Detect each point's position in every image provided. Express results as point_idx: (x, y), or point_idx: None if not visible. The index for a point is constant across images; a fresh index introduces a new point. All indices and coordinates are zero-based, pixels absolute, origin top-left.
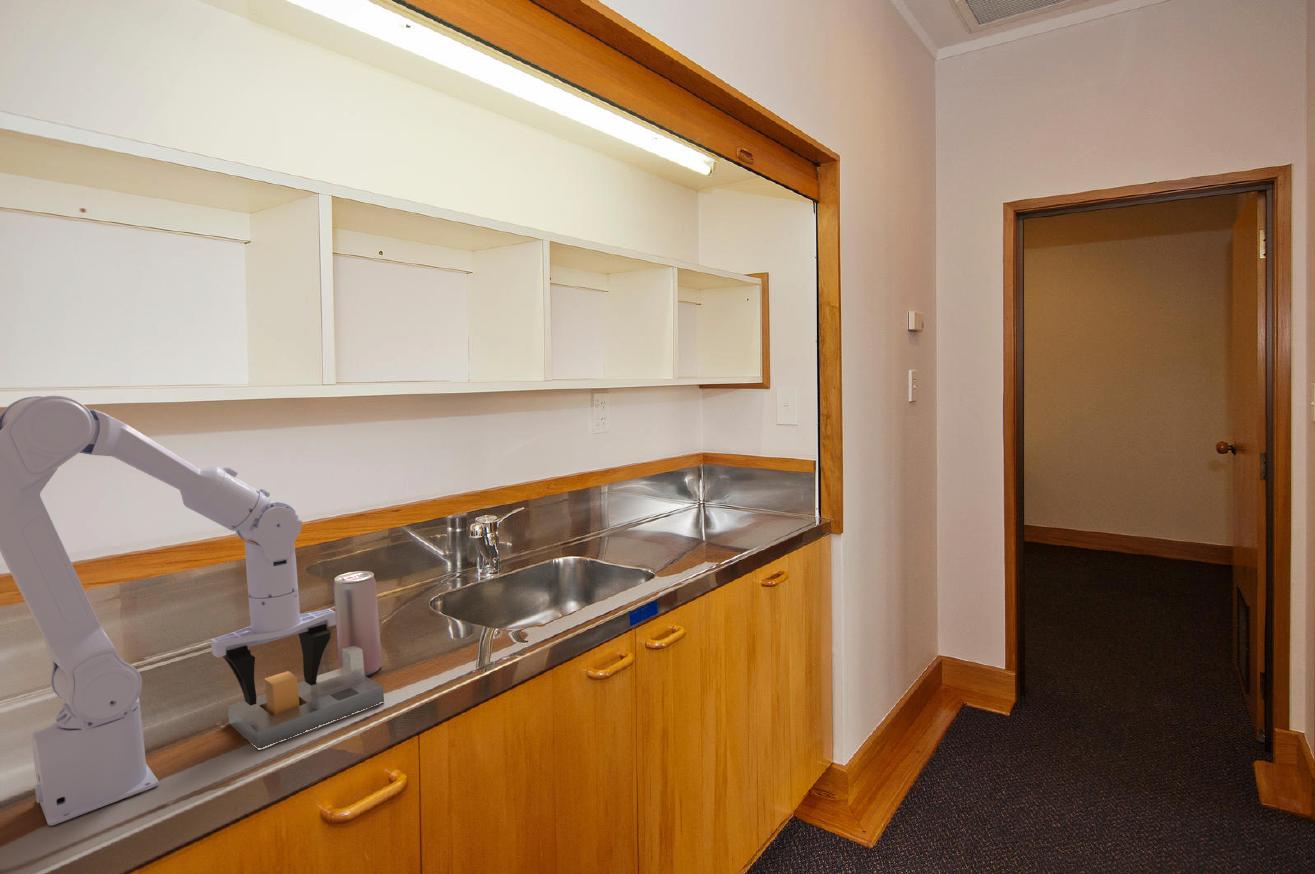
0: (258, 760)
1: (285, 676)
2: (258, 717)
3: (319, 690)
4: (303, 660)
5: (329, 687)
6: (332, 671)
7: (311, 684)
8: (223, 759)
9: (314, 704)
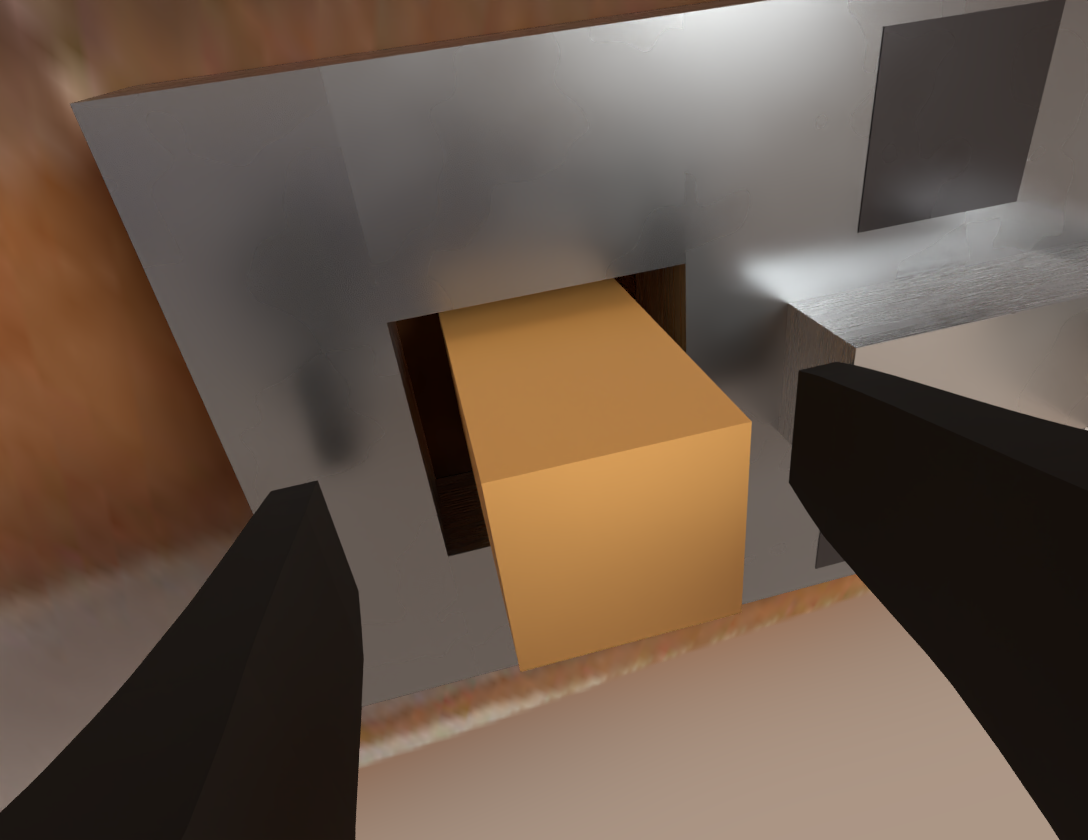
0: None
1: (673, 550)
2: (365, 537)
3: None
4: (965, 447)
5: None
6: (1037, 324)
7: (797, 487)
8: (163, 614)
9: None
